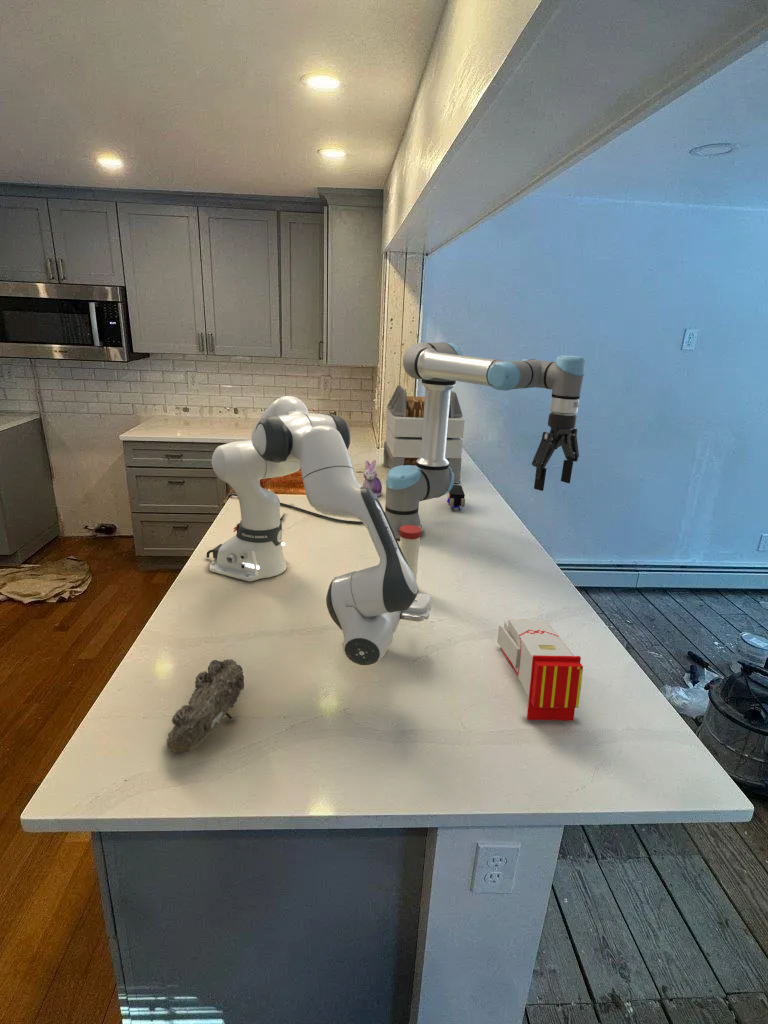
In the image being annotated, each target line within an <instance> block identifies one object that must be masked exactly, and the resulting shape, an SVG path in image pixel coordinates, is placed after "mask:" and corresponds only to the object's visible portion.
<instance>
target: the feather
mask: <svg viewBox="0 0 768 1024" xmlns="http://www.w3.org/2000/svg"><path fill="white" fill-rule="evenodd" d="M285 515H286V513H283V515H281V516H280V522H281V523H282V520H283V519H284V517H285Z"/></svg>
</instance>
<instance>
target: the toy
mask: <svg viewBox="0 0 768 1024" xmlns="http://www.w3.org/2000/svg"><path fill="white" fill-rule="evenodd" d="M498 626H499V627H498V634H497V644H498V646H500V650H501V652H502V653H503V655H504V657H505V658H506V661H508V663H509V665H510V667H511V668H512V670H513V671H514V673H515V675H516V677H518V680H519V682H520V684H521V686H522V687H523V690H524V692H525V693H526V695H527V697H528V702H527V703H528V704H527V712H526V720H527V721H562V722H563V721H567V722H568V721H570V722H572V721H574V719H575V714H576V713H575V712H576V709H578V708H579V705H580V697H581V687H582V680H583V672H584V671H583V670H584V666H583V664H582V663H581V656H580V655H575V654H574V653H573V651H572V650H571V649H570V648H569V647H568V646H567V644H566V643H565V642H564V640H563V639H562V638H561V636H560V635H559V634H558V633H557V631H556V630H555V629H554V627H553V626H552V625H551V624H550V623H549V621H548V620H547V619H539V618H538V619H534V618H533V619H532V618H508V621H504V623H503V624H499V625H498Z"/></svg>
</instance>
